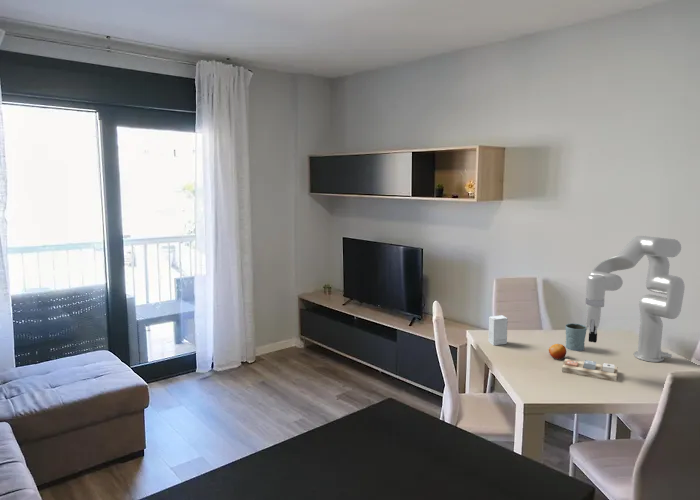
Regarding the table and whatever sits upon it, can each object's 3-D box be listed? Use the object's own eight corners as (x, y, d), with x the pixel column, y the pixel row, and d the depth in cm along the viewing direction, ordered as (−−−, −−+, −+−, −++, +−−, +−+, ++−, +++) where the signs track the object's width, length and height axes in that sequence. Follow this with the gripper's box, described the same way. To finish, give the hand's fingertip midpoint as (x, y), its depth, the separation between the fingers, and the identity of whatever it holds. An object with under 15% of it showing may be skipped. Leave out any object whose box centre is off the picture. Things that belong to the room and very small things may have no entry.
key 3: (577, 366, 228) (578, 361, 227) (576, 370, 224) (576, 364, 224) (567, 365, 230) (567, 359, 230) (565, 368, 226) (566, 362, 226)
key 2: (595, 366, 224) (596, 361, 223) (595, 370, 220) (595, 364, 220) (584, 364, 226) (585, 359, 226) (583, 368, 222) (584, 362, 222)
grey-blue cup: (581, 345, 259) (582, 323, 258) (588, 351, 250) (590, 329, 248) (561, 344, 260) (562, 323, 259) (568, 351, 250) (569, 328, 249)
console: (617, 372, 223) (617, 367, 223) (616, 381, 213) (616, 376, 212) (565, 363, 234) (565, 358, 234) (561, 371, 224) (562, 366, 223)
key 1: (614, 369, 220) (614, 364, 220) (613, 373, 216) (614, 367, 216) (602, 368, 222) (603, 362, 222) (602, 371, 218) (602, 365, 218)
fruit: (571, 358, 237) (563, 344, 236) (556, 365, 238) (548, 351, 238) (568, 352, 244) (560, 339, 244) (553, 359, 246) (545, 346, 246)
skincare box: (501, 341, 267) (502, 314, 265) (507, 344, 261) (508, 317, 259) (487, 342, 265) (488, 315, 263) (493, 345, 260) (494, 318, 258)
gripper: (587, 297, 227) (585, 335, 229) (583, 305, 214) (581, 345, 217) (605, 299, 223) (603, 338, 225) (602, 307, 210) (600, 347, 213)
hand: (592, 341), depth 221 cm, fingers closed
